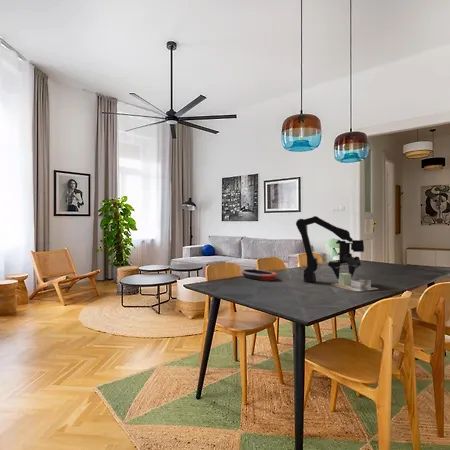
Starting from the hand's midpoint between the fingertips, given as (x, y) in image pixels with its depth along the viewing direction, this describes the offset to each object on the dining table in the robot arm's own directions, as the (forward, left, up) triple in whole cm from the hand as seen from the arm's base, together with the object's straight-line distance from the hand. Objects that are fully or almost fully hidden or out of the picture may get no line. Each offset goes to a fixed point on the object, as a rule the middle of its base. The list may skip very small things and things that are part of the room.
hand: (344, 278), depth 183 cm
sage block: (0, 0, -3) cm, 3 cm away
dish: (-35, +41, -5) cm, 54 cm away
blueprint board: (0, -7, -4) cm, 8 cm away
